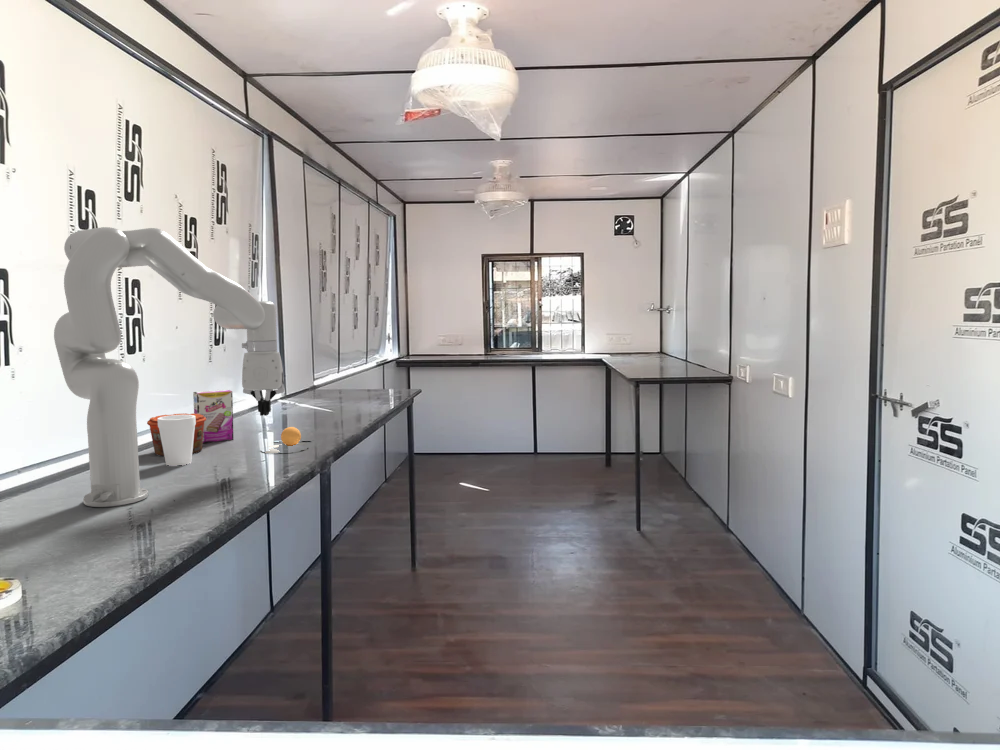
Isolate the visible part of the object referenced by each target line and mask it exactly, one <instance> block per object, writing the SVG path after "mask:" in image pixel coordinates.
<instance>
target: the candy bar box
mask: <svg viewBox="0 0 1000 750" xmlns="http://www.w3.org/2000/svg"><path fill="white" fill-rule="evenodd" d="M233 400H234V399H233V391H232V390H230V389H220V390H219V389H217V390H201V391H200V390H199V391H193V414H201V415H203V416H204V417H205V418H206V421H204V430H203V443H202V444H206V443H216V442H222V441H223V442H224V441H232V439H233V440H234V408H233V403H234V402H233Z"/></svg>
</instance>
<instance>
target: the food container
mask: <svg viewBox="0 0 1000 750" xmlns="http://www.w3.org/2000/svg"><path fill="white" fill-rule="evenodd" d="M171 415H194V416H195V418H196V425H195V430H194V441H193V451H192V455H195V454H197V453H200V452H201V451H202V450H203V444H204V443H203V430H204V421H206V418H205V417H204V416H203V415H201V414H194V413H173V414H162V415H156V416H153V417H150V418H149V420H147V421H146V422H147V423H146V424H147V425H148V426H149V430H150V431H149V432H150V435H151V436H150V437H151V440H152V445H153V450H154V454H155V455H156V456H158V455H160V456H159V457H165V456H164V451H163V446H162V441H161V436H160V431H159V428H158V419H157V418H159V417H164V416H171ZM194 453H195V454H194Z"/></svg>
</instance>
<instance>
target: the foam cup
mask: <svg viewBox="0 0 1000 750" xmlns="http://www.w3.org/2000/svg"><path fill="white" fill-rule="evenodd" d="M170 415H171V416H164V417H159V418H157V419H158V428H159V431H160V436H161V441H162V446H163V451H164V456H163V457H164V460H165V466H167V465H169V466H168V467H178V466H177V465H182V466H187V465H190V464H191V463H192V460H193V454H192V451H193V441H194V430H195V425H196V418H195V416H194V415H173V414H170ZM189 463H190V464H189ZM186 464H187V465H186Z"/></svg>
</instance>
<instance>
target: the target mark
mask: <svg viewBox="0 0 1000 750" xmlns="http://www.w3.org/2000/svg"><path fill="white" fill-rule="evenodd" d="M279 445H280V444H275V445H274V444H273V445H269V447H274V448H278V447H279ZM269 450H270V451H266V452H265V453H264V454H267V453H278V452H280V451H279V450H277V449H273V448H271V449H269Z"/></svg>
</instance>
